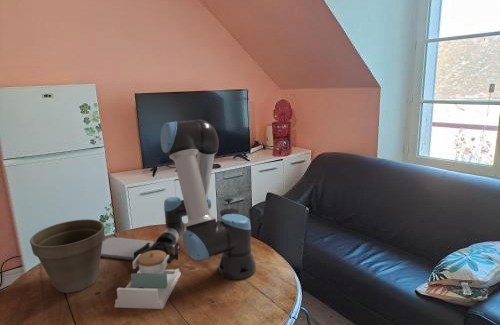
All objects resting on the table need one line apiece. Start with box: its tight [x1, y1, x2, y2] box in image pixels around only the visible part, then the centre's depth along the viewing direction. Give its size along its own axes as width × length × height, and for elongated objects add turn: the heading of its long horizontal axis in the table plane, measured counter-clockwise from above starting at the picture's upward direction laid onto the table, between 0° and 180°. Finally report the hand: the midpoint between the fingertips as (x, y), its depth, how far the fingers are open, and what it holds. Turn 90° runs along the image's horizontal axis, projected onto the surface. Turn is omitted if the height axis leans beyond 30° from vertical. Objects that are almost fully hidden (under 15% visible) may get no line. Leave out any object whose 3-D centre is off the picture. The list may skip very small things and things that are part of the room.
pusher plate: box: [130, 272, 168, 288], centre depth 126 cm, size 1×13×5 cm, turn 85°
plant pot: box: [29, 218, 106, 294], centre depth 131 cm, size 25×25×22 cm
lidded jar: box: [137, 250, 167, 274], centre depth 131 cm, size 11×11×9 cm
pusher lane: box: [114, 268, 182, 310], centre depth 126 cm, size 22×17×7 cm
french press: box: [216, 198, 240, 223], centre depth 159 cm, size 12×9×23 cm
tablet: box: [100, 236, 155, 261], centre depth 159 cm, size 16×26×2 cm, turn 76°
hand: (148, 266), depth 126 cm, fingers closed on lidded jar, 11 cm apart
